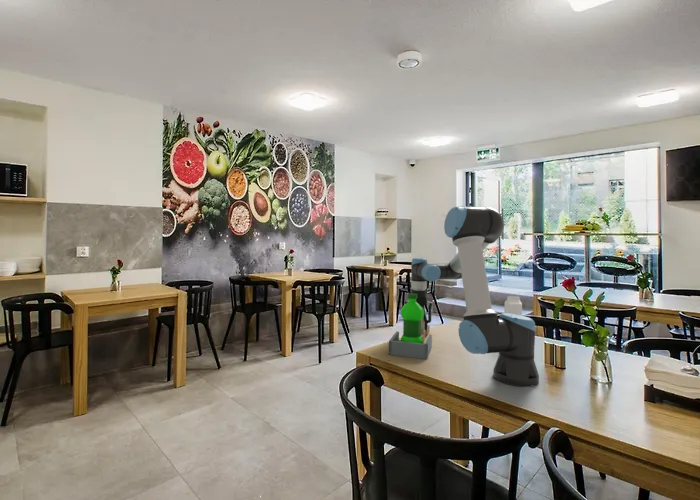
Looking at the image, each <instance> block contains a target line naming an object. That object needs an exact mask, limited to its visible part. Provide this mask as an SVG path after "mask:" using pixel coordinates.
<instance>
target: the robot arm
mask: <svg viewBox="0 0 700 500" xmlns="http://www.w3.org/2000/svg"><path fill="white" fill-rule="evenodd" d="M504 226H505V222H504V219H503V216H502V214H501V213H500V212H499V211H498V210H497V209H495V208H492V207H490V206H465V205H462V206H454V207H451V208H450V209H449V210H448V211H447V214H446V216H445V219H444V225H443V229H444V234H445V235H446V237H448V238H451V240H452V245H454V246H455V247H457V251H458V252H457V253H456V254H455V255H454V257H453V258H452V259H451V260H450V261H449V263H448V262H447V263H428V260H427V258H426V257H424V258H423V257H415V258H414V257H413V258H412V259H411V271H410V272H411V280H410V281H411V285H410V287H411V289H410V293H415V294H417V299H416V302H417V303H418V304H419V305H420V306H421V307H422V308H423V310H424V323H423V332H425V330H427V325H429V324H430V323H432V306H433V302H432V301H428V299H427V296H428V295H427V294H428V293H427V292H428V291H427V288H428V286H427V284H428V282H434V281H439V280H440V281H443V280H462V289H463V293H464V301H465V307H466V311H465V313H464V314H463V315H462V316H463V320H462V321H461V322H459V325H458V336H459V341H460V342H461V345H462V346H463V348H465V350H466V351H467V352H469V353H471V354H472V355H485V354H495V353H498V356H497V360H496V362H495V363H494V366H493V377H494V379H496V380H497V381H499V382H501V383H504V384H506V385H510V386H514V387H515V386H516V387H533V386H534V387H535V386H537V385H538V384H539V383H540V375H539V372H538V368H537V365H536V361H535V345H536V344H535V343H536V342H535V340H536V332H537V331H536V322H535V320H533V318H531V317H528V316H525V315H523V314H522V315H517V314H510V313H504V312H501V313H500V315H498V312H497V311H496V310H494V309H493V308H492V302H491V295H490V291H489V289H490V288H489V282H488V278H487V272H486V265H485V258H484V250H485V249H486V248H487V247H488V246H489V245H492V244H494V243H495V242H496V241H497V240H499V238H500V237H501V235H502V234H503V232H504ZM408 302H409V299H408V300H405V301H404V305H405V304H406V303H408ZM426 305H427V307H428V310H427V311H428V312H427V313H426V309H425V306H426ZM427 314H428V315H427ZM427 316H428V317H427ZM498 316H499V317H498Z"/></svg>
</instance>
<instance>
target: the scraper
mask: <svg viewBox="0 0 700 500" xmlns="http://www.w3.org/2000/svg"><path fill="white" fill-rule="evenodd" d="M423 323H425V322H424V318H423V319H422V320H421V337H422V339H423V343H424V342H425V339H426V336H429V335H428V334H429V333H430V330H429V329H431V326H430V324H427V330H425V332H423Z"/></svg>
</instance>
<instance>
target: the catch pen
mask: <svg viewBox="0 0 700 500" xmlns="http://www.w3.org/2000/svg"><path fill="white" fill-rule="evenodd" d="M432 347H433V335H432V334H429V335H427V339H426V341H425V343H423V344H421V343H412V342H402V341H401V340H400V332H399V331H395V332H394V334H393V335H392V337H391V338H390V339H389V340H388V355H389V356H395V355H396V356H397V357H398V356H399V357H406V358H412V359H413V358H415V359H421V360H422V359H423V360H428V358H429V356H430V354H431V352H432V351H431V350H432Z"/></svg>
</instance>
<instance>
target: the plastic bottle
mask: <svg viewBox="0 0 700 500" xmlns="http://www.w3.org/2000/svg"><path fill="white" fill-rule="evenodd" d="M407 299H408V300H409V302H408V303H406V304H405V303H404V305H403V306H401V308H400V317H401V318H402V319H403V320H402V321H403V322H402V323H403V324H402V327H403V328H402V330H403V332H402V335H401V337H400V338H401V339H400V341H402V342H412V343H421V344H424V342H423V339H422V337H421V320H422V319H423V318H424V310H423V308H422V307H421V306H420V305H419V304H418V303H417V302H416V299H417V294H415V293H411V292H410V293H407Z"/></svg>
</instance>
